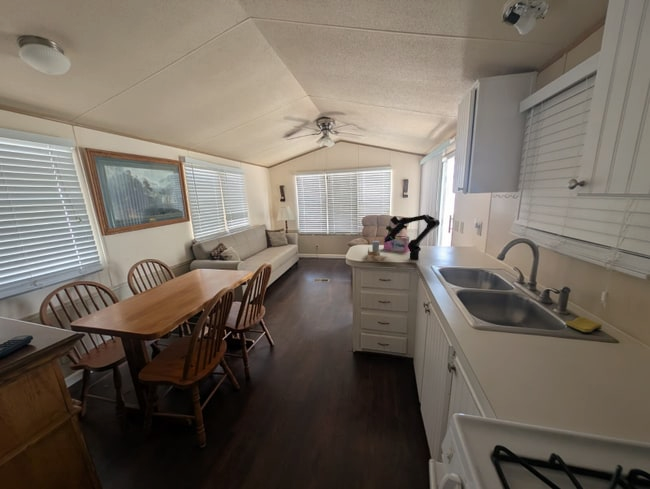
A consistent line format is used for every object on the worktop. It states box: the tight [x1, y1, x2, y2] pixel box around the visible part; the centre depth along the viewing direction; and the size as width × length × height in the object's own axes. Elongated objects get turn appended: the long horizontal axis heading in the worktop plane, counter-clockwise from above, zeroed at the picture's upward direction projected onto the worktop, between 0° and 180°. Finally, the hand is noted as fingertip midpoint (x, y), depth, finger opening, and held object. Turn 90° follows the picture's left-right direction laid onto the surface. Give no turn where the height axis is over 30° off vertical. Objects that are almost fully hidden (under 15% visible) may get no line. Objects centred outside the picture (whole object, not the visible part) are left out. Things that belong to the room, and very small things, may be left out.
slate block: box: [371, 240, 380, 252], centre depth 218 cm, size 6×6×12 cm
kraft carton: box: [367, 247, 388, 262], centre depth 204 cm, size 16×15×8 cm
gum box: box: [383, 233, 410, 253], centre depth 235 cm, size 24×8×14 cm, turn 48°
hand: (384, 241), depth 215 cm, fingers open, 9 cm apart
